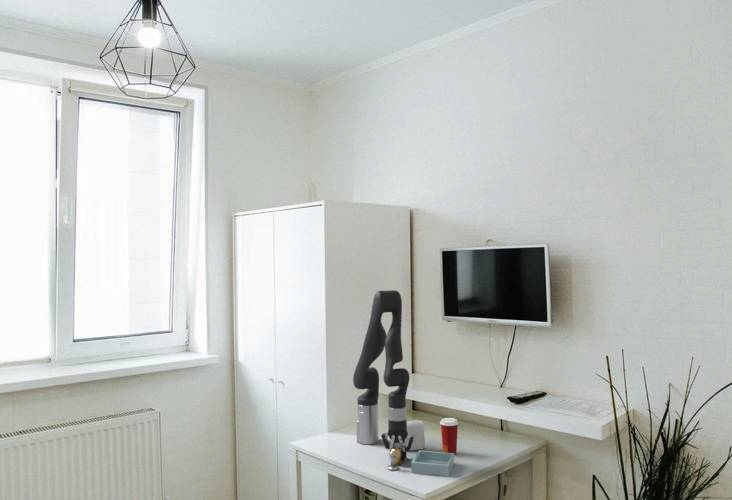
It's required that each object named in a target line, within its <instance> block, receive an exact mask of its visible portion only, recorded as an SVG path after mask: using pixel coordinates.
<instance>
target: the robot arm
mask: <svg viewBox="0 0 732 500" xmlns="http://www.w3.org/2000/svg"><path fill="white" fill-rule="evenodd" d="M402 301H403V300H402V296H401V293H400V291H398V290H395V289H394V290H392V289H391V290H378V291H376V292H375V294H374V297H373V301H372V305H371V312H370V319H369V323H368V326H367V329H366V334H365V337H364V342H363V345H362V348H361V349H362V350H361V353H360V356H359V359H358V362H357V364H356V366H355V370H354V373H353V377H352V382H353V386H354V388H356V389H357V390H365V392H364V393H362V394H360V395H359V396H357V420H356V422H355V423H356V443H358V444H363V445H375V444H377V443H379V438H380V437H379V397H380V392H379V391H380V389H379V388H380V376H379V375H380V374H379V372H378V369H377V368H376V367H374V366H373V367H371V365H372V364H373V363H374V362H375V361H376V360H377V359H378V358H379V357H380V356H381V355H382V353H383V351H384V350H385V353H384V354H385V366H384V372H383V382H384V384H385V385H386V387H389V388H393V387H398V388H397V389H395V390H393V391H391V392H389V394H388V395H387V397H388V398H387V399H388V410H387V421H388V422H387V423H388V430H387V432H383V433H382V434H381V440H382V443H383V446H384V449H386V450H389V453H390V452H391V449H392V447H393V446H394V445H395V444H396V443H400V445H401V447H402V451H403V452H402V461H403V462H405V461H406V460H407V458H408V457H407V455H408V454H407V452H410V451H409V450H410V449H411V446H412V443H413V440H414V435H412V436H411V435H409V434H408V432H407V421H408V420H407V406H406V405H407V404H406V396H407V391H408V387H409V383H410V378H411V377H410V373H409V371H408V369H407V368H404V367H403V368H401V367H400V368H394V366H395V365H396V364H398V363H401V362H403V360H404V357H403V355H404V354H403V346H402V319H403V318H402V317H403V314H402V313H403V312H402V310H403V304H402ZM384 313H386V314H387V313H391V316H392V317H391V324H390V327H389V330H388V332H386V330H385V328H384V326H383V323H382V316H383V314H384ZM407 437H408V440H409V443H408V446H407V447H406V443H405V439H406V438H407ZM388 438H389V439H390V443H389V440H388Z"/></svg>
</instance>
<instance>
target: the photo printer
mask: <svg viewBox="0 0 732 500" xmlns="http://www.w3.org/2000/svg"><path fill="white" fill-rule="evenodd" d="M407 432H408V434H409V435H411V436H412V435H414V440H413V443H412V446H411V449H410V450H409V451H408V452H410V451H419V450H423V449H424V450H425V448H426V447H425V445H426V444H425V441H426V440H425V424H424V422H423V421H421V420H417V419H415V420H407ZM405 443H406V447H407V446H408V443H409V440H408V437H407V438H406V439H405Z"/></svg>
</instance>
